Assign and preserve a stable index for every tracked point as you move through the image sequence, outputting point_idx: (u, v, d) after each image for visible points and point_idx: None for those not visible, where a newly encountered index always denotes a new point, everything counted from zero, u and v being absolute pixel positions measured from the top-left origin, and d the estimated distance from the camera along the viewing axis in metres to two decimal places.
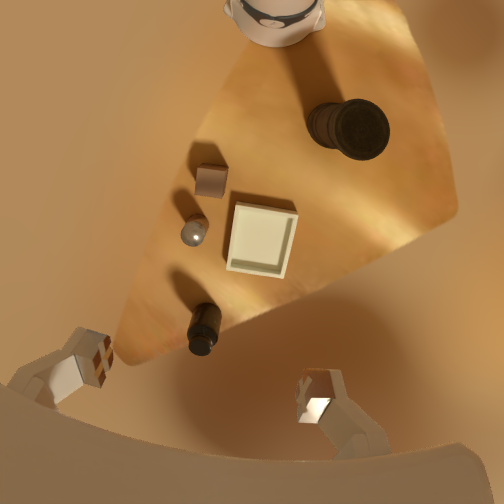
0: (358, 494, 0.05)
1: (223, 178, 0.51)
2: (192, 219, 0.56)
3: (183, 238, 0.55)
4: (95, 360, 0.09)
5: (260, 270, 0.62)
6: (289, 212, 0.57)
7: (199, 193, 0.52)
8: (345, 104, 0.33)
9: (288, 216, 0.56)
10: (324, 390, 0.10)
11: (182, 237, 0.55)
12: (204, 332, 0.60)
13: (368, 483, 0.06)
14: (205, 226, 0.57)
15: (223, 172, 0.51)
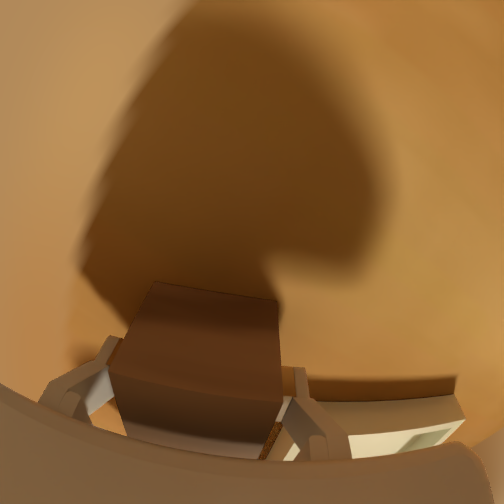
0: (358, 494, 0.05)
1: (266, 424, 0.08)
2: None
3: None
4: None
5: None
6: (445, 413, 0.14)
7: None
8: None
9: (443, 427, 0.13)
10: (285, 388, 0.10)
11: None
12: None
13: (368, 483, 0.06)
14: None
15: (269, 405, 0.08)
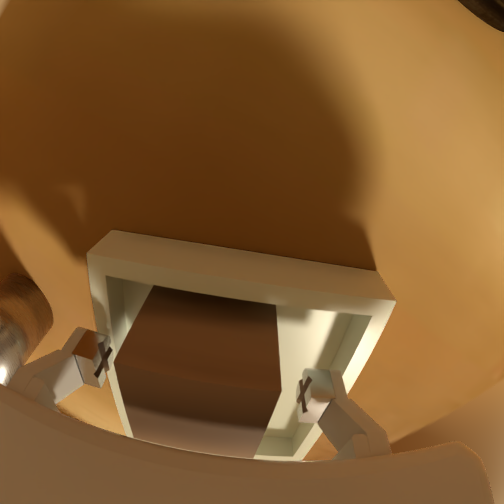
0: (358, 494, 0.05)
1: (266, 414, 0.08)
2: None
3: None
4: (95, 360, 0.09)
5: None
6: (353, 285, 0.11)
7: (153, 439, 0.10)
8: None
9: (350, 308, 0.11)
10: (324, 390, 0.10)
11: None
12: None
13: (368, 483, 0.06)
14: (17, 329, 0.11)
15: (268, 394, 0.08)
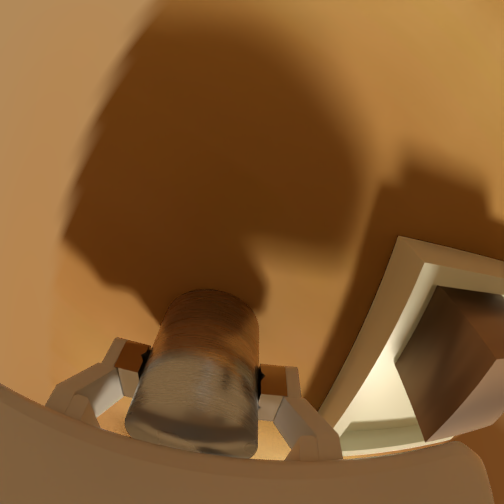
0: (358, 494, 0.05)
1: None
2: (183, 339, 0.10)
3: None
4: (139, 372, 0.10)
5: (406, 438, 0.16)
6: None
7: (444, 435, 0.09)
8: None
9: None
10: (276, 387, 0.10)
11: (138, 438, 0.08)
12: None
13: (368, 483, 0.06)
14: (255, 369, 0.10)
15: None
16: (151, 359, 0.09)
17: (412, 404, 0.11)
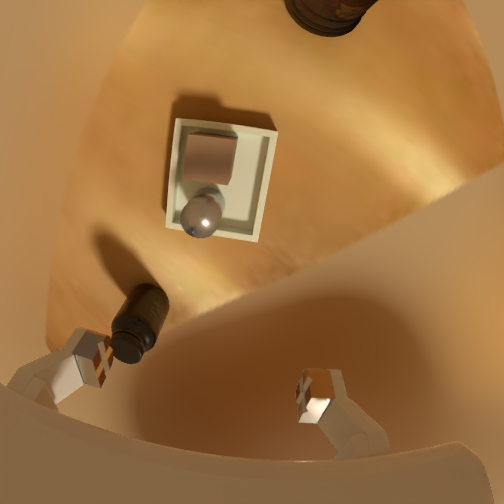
0: (358, 494, 0.05)
1: (230, 151, 0.30)
2: (199, 193, 0.34)
3: (184, 225, 0.33)
4: (95, 360, 0.09)
5: (219, 228, 0.38)
6: None
7: (190, 177, 0.31)
8: None
9: (261, 133, 0.32)
10: (324, 390, 0.10)
11: (183, 222, 0.33)
12: (131, 327, 0.36)
13: (368, 483, 0.06)
14: (221, 205, 0.35)
15: (231, 141, 0.30)
16: None
17: None
